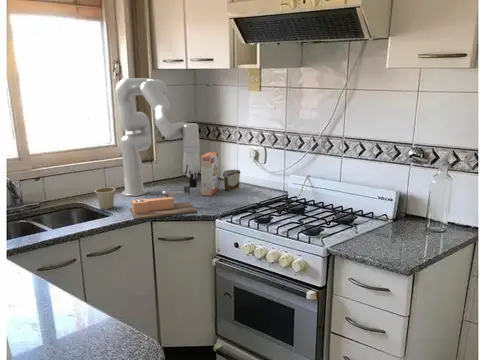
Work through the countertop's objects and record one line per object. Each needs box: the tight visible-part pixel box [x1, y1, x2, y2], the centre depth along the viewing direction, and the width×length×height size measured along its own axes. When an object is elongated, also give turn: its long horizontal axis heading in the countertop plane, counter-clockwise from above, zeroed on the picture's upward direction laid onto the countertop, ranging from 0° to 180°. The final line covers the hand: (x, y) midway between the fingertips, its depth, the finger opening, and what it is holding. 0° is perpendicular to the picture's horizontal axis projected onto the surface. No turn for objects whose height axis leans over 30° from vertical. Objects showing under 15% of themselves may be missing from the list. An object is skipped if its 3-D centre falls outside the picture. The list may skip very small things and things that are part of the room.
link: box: [131, 196, 175, 213], centre depth 217 cm, size 18×6×4 cm, turn 110°
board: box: [129, 201, 198, 221], centre depth 217 cm, size 16×28×1 cm, turn 110°
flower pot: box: [94, 187, 116, 210], centre depth 224 cm, size 9×9×9 cm
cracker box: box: [200, 151, 219, 197], centre depth 248 cm, size 14×6×21 cm, turn 168°
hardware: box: [138, 195, 170, 202], centre depth 219 cm, size 2×16×5 cm, turn 130°
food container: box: [222, 169, 242, 192], centre depth 256 cm, size 12×6×10 cm, turn 144°
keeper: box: [162, 184, 191, 196], centre depth 222 cm, size 13×3×4 cm, turn 85°
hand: (193, 186), depth 228 cm, fingers closed
